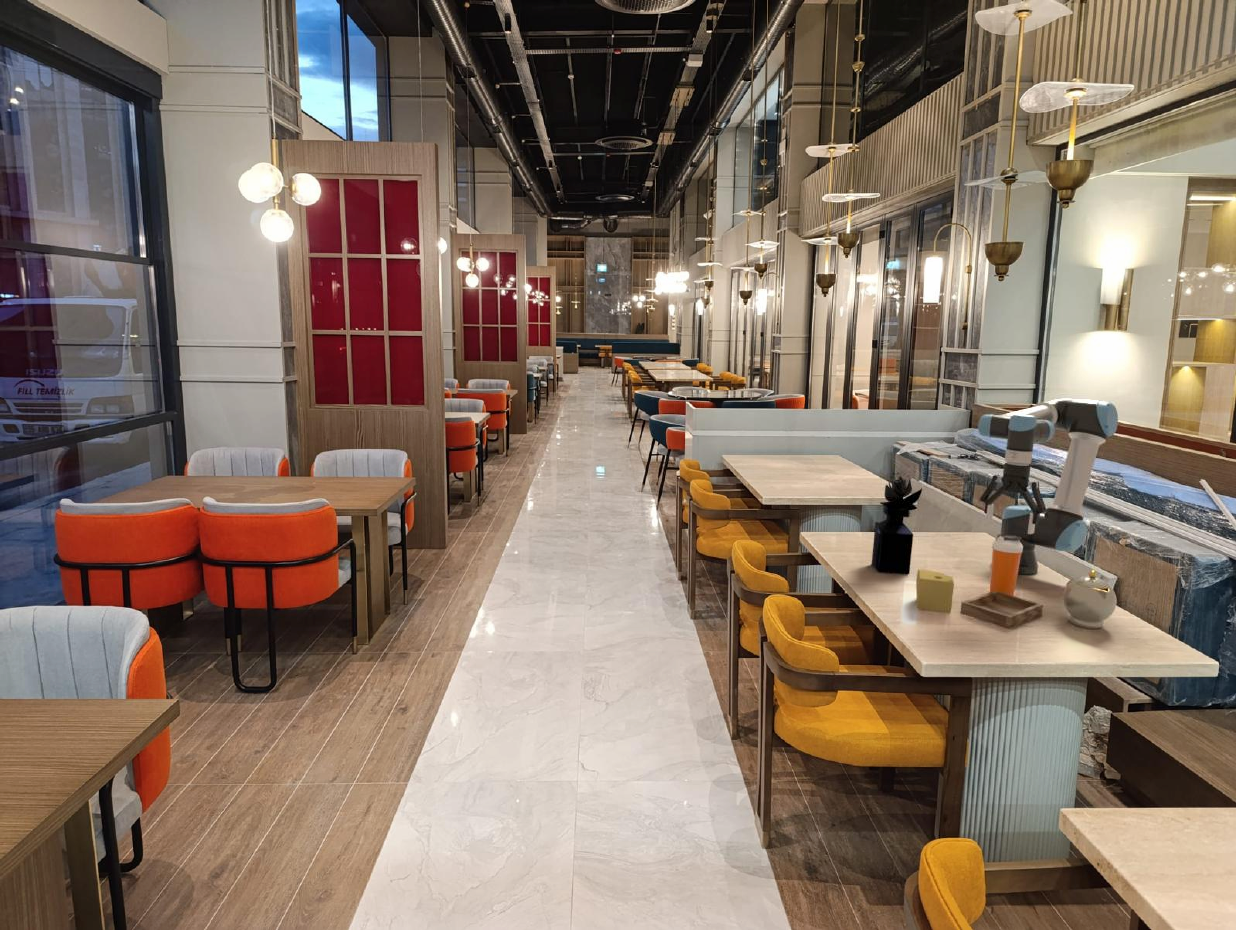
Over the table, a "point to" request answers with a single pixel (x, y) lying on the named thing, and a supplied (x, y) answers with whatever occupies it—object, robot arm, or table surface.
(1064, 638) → the table surface
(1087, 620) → the teapot
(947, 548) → the table surface
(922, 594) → the cheese
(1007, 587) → the shaker bottle
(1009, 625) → the tray
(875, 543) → the vase
